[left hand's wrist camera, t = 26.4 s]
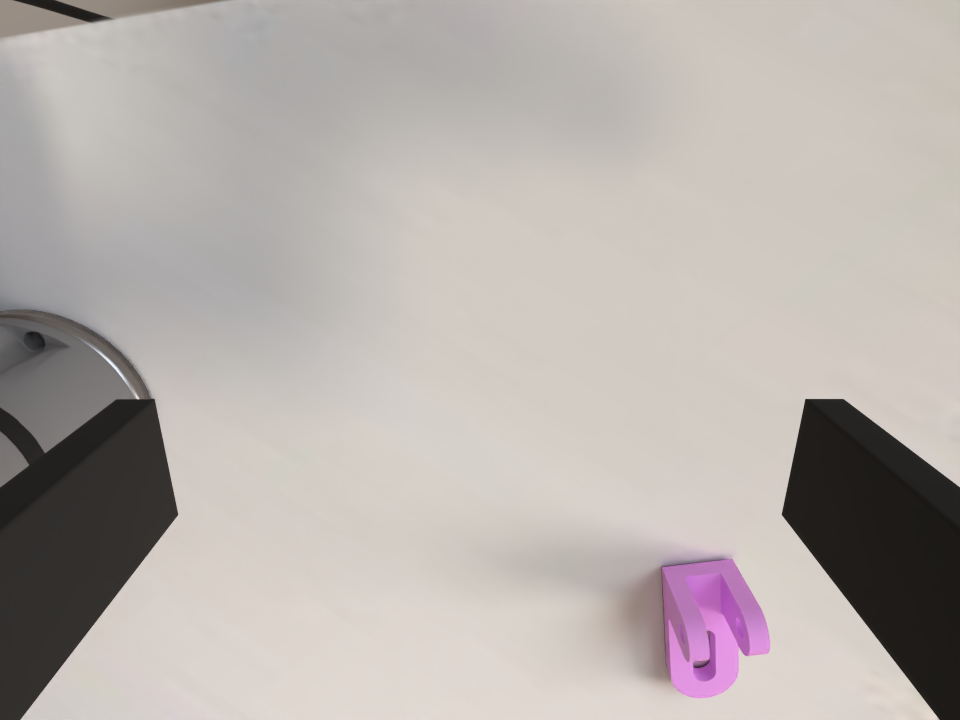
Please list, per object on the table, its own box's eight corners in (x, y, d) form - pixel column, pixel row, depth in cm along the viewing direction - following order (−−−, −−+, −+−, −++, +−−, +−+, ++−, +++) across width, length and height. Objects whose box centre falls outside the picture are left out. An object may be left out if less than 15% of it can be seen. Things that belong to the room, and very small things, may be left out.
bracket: (661, 567, 50) (689, 634, 43) (732, 559, 49) (770, 625, 43) (667, 687, 54) (693, 764, 48) (732, 680, 54) (766, 756, 47)
